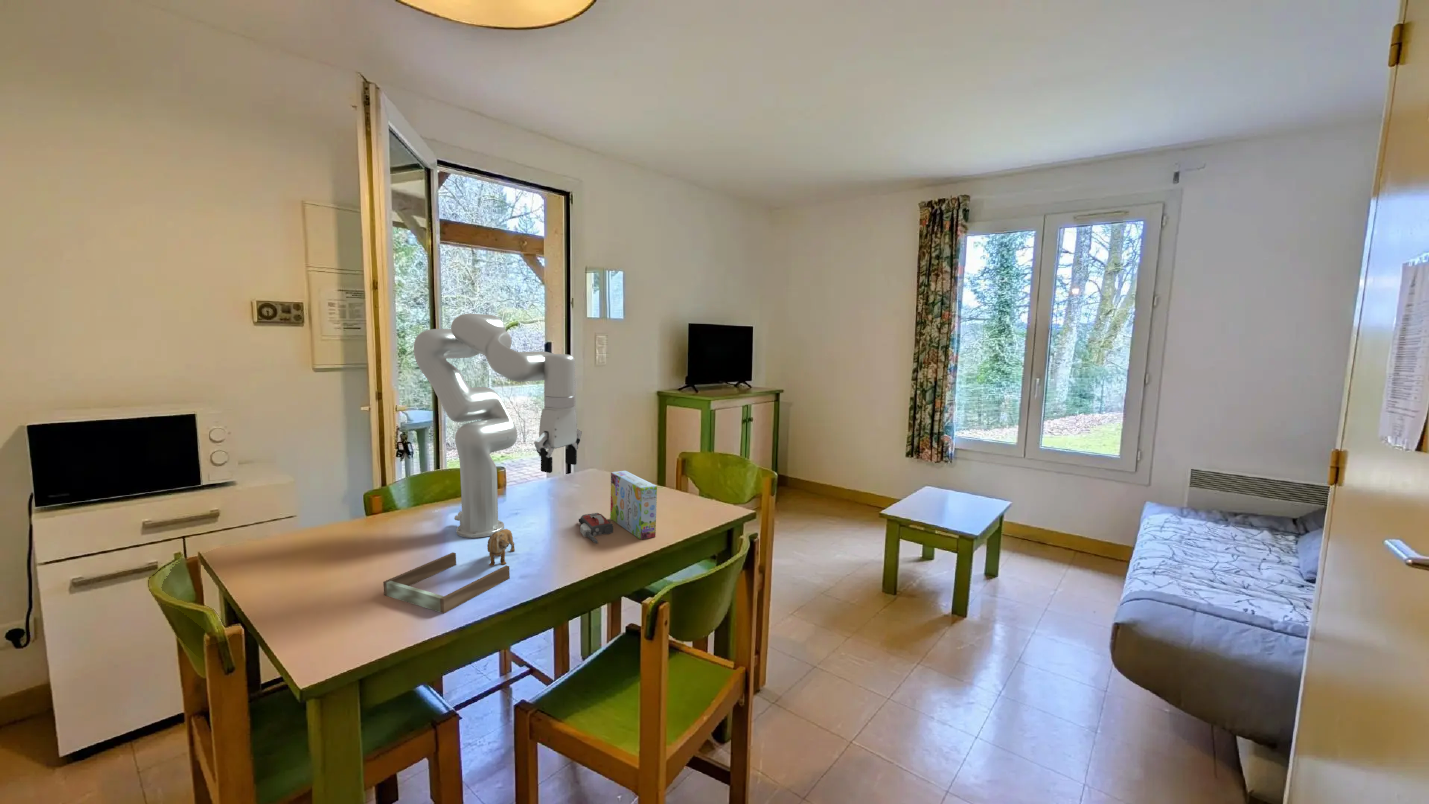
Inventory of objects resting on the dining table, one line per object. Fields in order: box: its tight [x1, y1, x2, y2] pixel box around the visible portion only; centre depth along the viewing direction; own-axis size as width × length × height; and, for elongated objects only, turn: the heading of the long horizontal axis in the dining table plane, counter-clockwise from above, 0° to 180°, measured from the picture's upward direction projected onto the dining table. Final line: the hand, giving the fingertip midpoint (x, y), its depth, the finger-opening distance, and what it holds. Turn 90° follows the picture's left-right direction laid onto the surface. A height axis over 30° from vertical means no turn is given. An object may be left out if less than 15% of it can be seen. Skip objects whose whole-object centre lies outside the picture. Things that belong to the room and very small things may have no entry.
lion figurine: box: [487, 528, 516, 567], centre depth 139 cm, size 15×5×9 cm, turn 13°
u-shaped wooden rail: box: [383, 552, 511, 614], centre depth 124 cm, size 18×18×3 cm
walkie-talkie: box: [578, 512, 614, 544], centre depth 159 cm, size 9×4×20 cm
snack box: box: [609, 470, 658, 540], centre depth 163 cm, size 21×6×15 cm, turn 34°
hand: (559, 467), depth 144 cm, fingers open, 9 cm apart
